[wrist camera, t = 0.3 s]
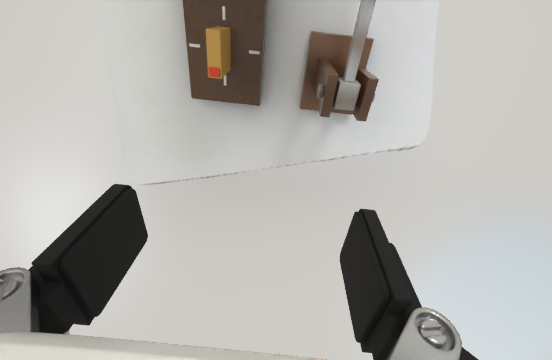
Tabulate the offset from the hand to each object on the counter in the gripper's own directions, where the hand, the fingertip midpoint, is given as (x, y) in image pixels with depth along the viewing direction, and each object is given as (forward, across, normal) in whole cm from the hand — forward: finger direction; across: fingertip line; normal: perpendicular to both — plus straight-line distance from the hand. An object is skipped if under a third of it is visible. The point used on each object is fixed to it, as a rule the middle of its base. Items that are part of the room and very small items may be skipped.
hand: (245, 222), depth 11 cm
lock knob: (+28, +7, -3) cm, 29 cm away
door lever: (+22, -8, -6) cm, 24 cm away
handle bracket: (+31, -8, -1) cm, 32 cm away
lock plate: (+30, +7, -3) cm, 31 cm away
